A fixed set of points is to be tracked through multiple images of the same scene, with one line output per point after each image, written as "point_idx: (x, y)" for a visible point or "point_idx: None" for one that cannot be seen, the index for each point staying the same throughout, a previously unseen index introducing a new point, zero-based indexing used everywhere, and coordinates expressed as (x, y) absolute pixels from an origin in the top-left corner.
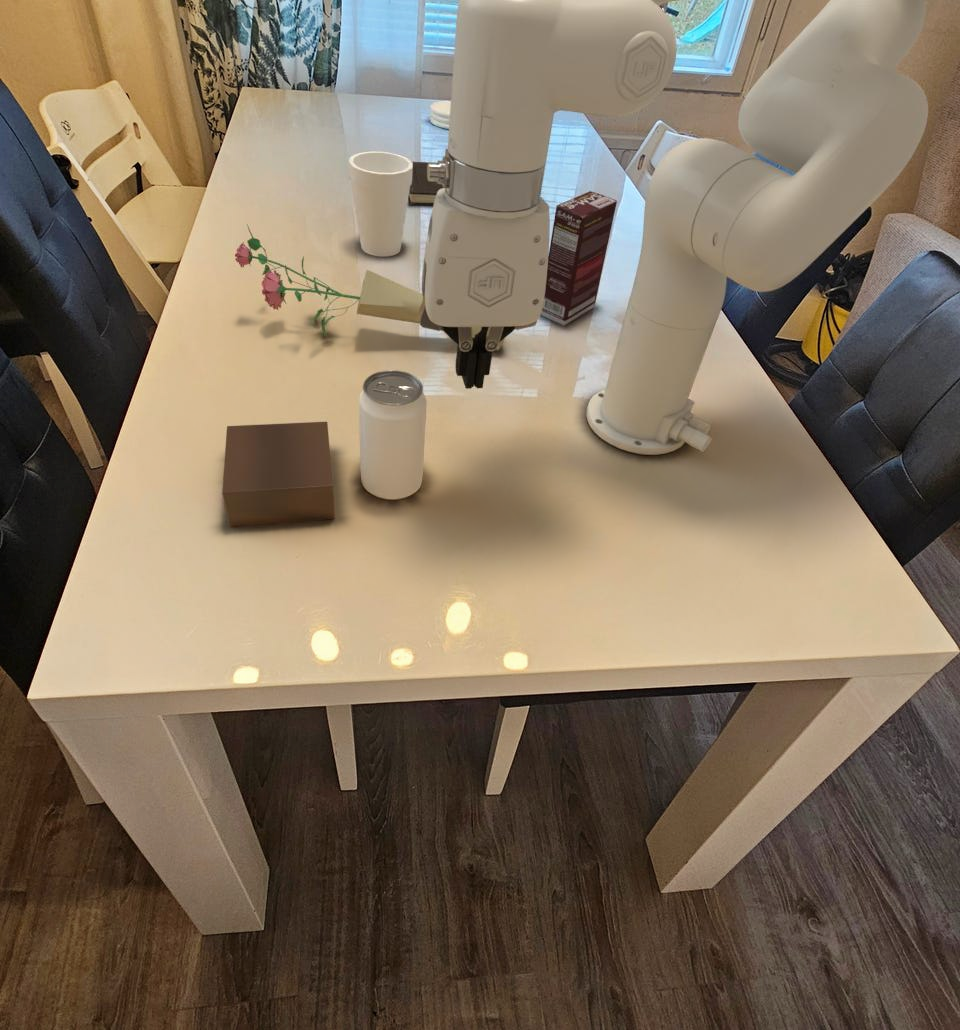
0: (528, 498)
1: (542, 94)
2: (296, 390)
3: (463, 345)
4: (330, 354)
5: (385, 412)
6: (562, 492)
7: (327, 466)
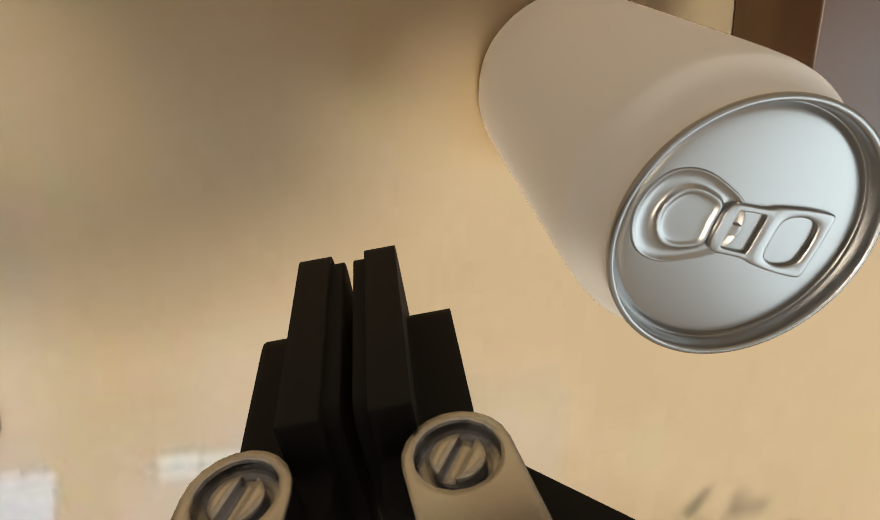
0: (129, 34)
1: None
2: (756, 388)
3: (479, 454)
4: (665, 503)
5: (791, 76)
6: (11, 72)
7: (833, 6)
